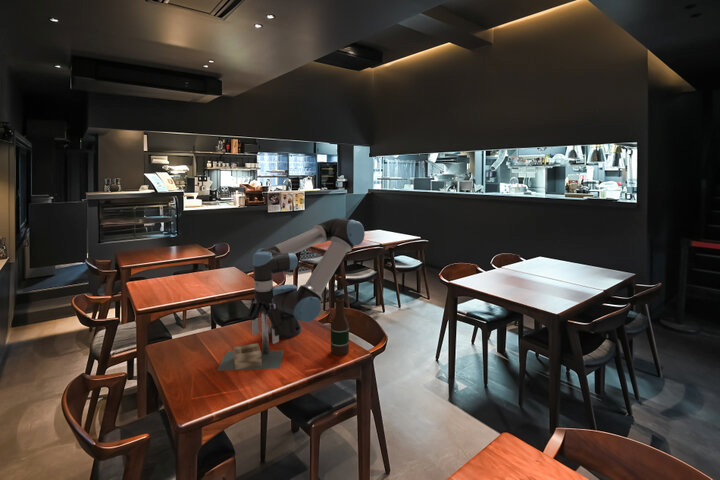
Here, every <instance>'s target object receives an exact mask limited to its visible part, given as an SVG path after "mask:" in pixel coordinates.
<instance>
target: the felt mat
mask: <svg viewBox="0 0 720 480" xmlns="http://www.w3.org/2000/svg"><path fill="white" fill-rule="evenodd" d="M260 351H261V359H262V365H260V366H254V367H248V368H242V369H236V370H235V363H234V353H233V351H226V353H225V355H224V357H223V358H222V360H221V362H220V364H219V366H218V368H217V370H216V371H217V372H219V371H223V372H224V371H242V370H243V371H247V370H249V371H250V370H269V369H270V370H272V369H273V370H274V369H275V370H277V369H281V367H282V366H281V364H282V360H283V357H284V352H285V350H284V349H281V350H278V349H277V350H275V349H274V350H269V354H267V355H264V354H263V350H260Z"/></svg>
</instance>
